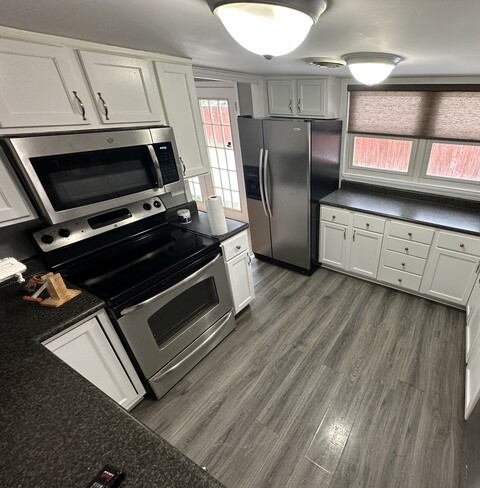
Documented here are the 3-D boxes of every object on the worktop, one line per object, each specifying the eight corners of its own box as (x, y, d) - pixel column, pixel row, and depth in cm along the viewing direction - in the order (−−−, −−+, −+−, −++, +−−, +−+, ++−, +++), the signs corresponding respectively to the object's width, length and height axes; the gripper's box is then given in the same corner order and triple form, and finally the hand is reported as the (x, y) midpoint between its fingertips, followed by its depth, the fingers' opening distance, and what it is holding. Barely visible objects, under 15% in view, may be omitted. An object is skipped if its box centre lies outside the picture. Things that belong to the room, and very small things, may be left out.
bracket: (56, 307, 125) (44, 283, 119) (40, 305, 126) (27, 281, 120) (81, 292, 136) (71, 269, 130) (66, 290, 137) (55, 267, 131)
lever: (40, 302, 119) (36, 300, 117) (25, 300, 120) (20, 297, 118) (63, 278, 127) (59, 275, 126) (48, 276, 128) (44, 273, 126)
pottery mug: (33, 285, 141) (39, 271, 140) (54, 291, 144) (59, 277, 143) (13, 293, 129) (19, 278, 129) (36, 299, 132) (42, 285, 132)
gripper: (8, 259, 126) (35, 278, 129) (-53, 283, 108) (-21, 305, 111) (12, 252, 123) (38, 272, 126) (-51, 275, 105) (-18, 297, 108)
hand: (10, 287), depth 118 cm, fingers open, 8 cm apart
